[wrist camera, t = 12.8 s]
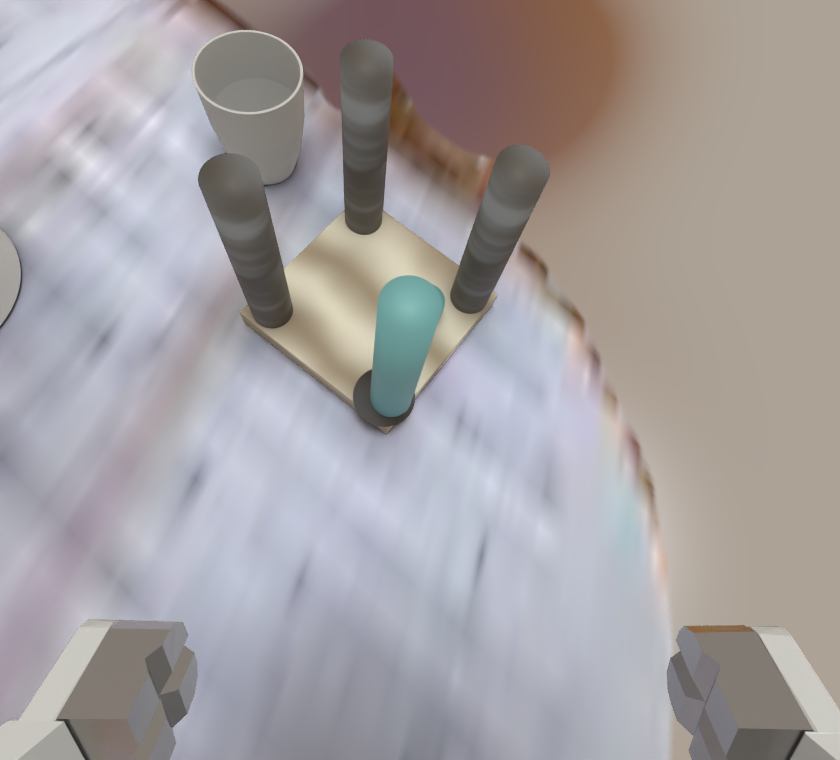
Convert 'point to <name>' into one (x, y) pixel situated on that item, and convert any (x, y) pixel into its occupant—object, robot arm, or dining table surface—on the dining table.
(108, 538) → the dining table surface
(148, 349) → the dining table surface
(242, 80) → the cup
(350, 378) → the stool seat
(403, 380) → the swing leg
